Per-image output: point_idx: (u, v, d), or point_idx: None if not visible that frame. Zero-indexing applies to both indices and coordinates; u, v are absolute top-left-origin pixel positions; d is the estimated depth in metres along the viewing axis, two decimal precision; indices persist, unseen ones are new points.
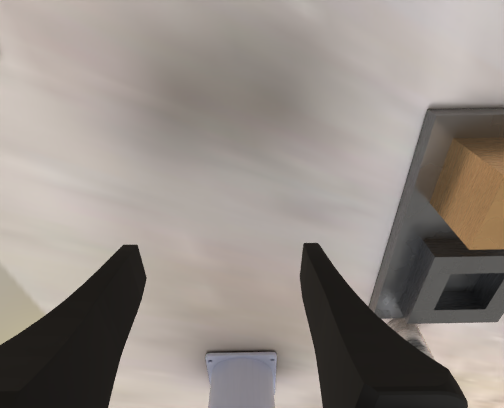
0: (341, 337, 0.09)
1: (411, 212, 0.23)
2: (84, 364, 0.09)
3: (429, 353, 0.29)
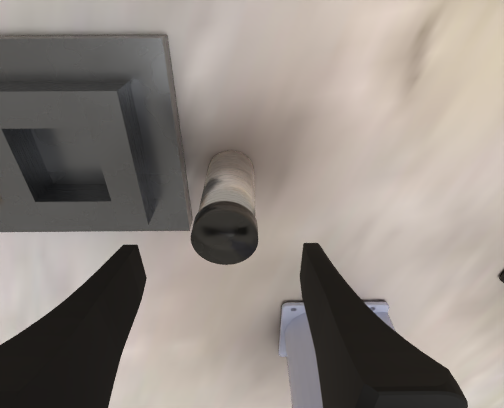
0: (341, 337, 0.09)
1: (5, 227, 0.22)
2: (84, 364, 0.09)
3: (205, 190, 0.17)
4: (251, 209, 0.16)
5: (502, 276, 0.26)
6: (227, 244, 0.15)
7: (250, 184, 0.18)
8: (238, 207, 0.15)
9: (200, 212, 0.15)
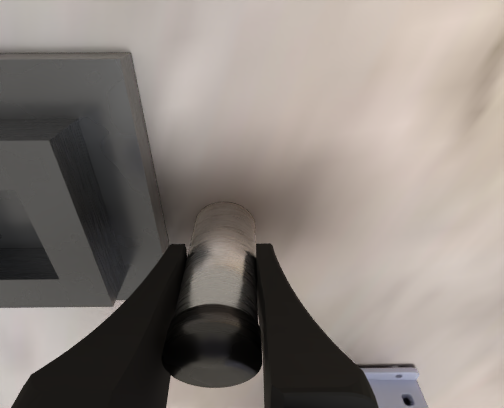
0: (267, 338, 0.09)
1: None
2: (152, 363, 0.09)
3: (186, 270, 0.12)
4: (252, 308, 0.11)
5: None
6: (216, 367, 0.10)
7: (250, 258, 0.13)
8: (232, 315, 0.10)
9: (176, 321, 0.10)
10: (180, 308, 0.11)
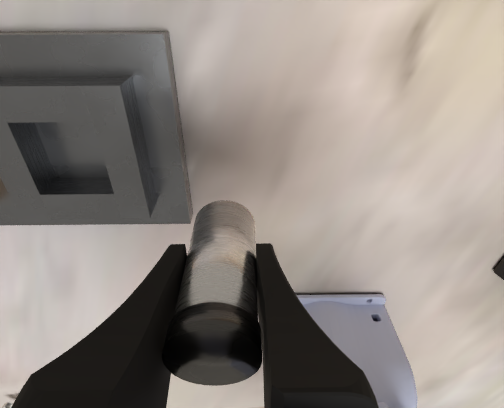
0: (267, 338, 0.09)
1: (9, 220, 0.22)
2: (152, 363, 0.09)
3: (186, 268, 0.12)
4: (252, 306, 0.11)
5: (496, 268, 0.27)
6: (216, 364, 0.10)
7: (250, 256, 0.13)
8: (232, 314, 0.10)
9: (176, 319, 0.10)
10: (180, 306, 0.11)
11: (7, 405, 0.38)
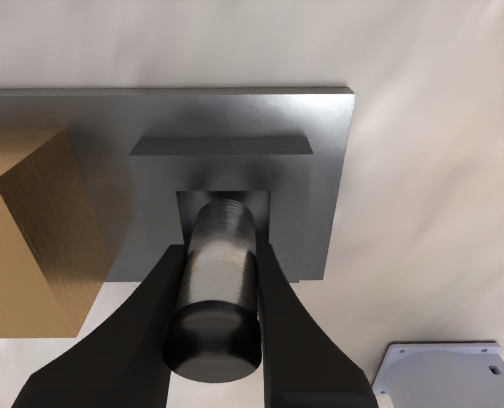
0: (267, 338, 0.09)
1: (129, 277, 0.21)
2: (151, 363, 0.09)
3: (186, 267, 0.12)
4: (251, 304, 0.11)
5: None
6: (216, 362, 0.10)
7: (250, 254, 0.13)
8: (231, 311, 0.10)
9: (175, 317, 0.10)
10: (180, 305, 0.11)
11: None
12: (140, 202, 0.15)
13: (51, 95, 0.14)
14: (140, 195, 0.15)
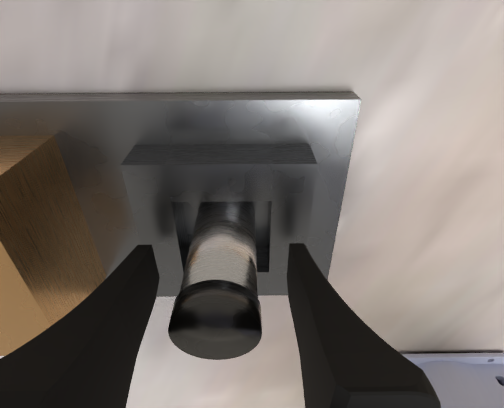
0: (319, 337, 0.09)
1: None
2: (104, 364, 0.09)
3: (190, 252, 0.13)
4: (251, 284, 0.12)
5: None
6: (219, 338, 0.11)
7: (250, 241, 0.14)
8: (233, 289, 0.11)
9: (181, 296, 0.11)
10: (184, 285, 0.11)
11: None
12: (134, 213, 0.14)
13: (39, 101, 0.13)
14: (134, 206, 0.14)
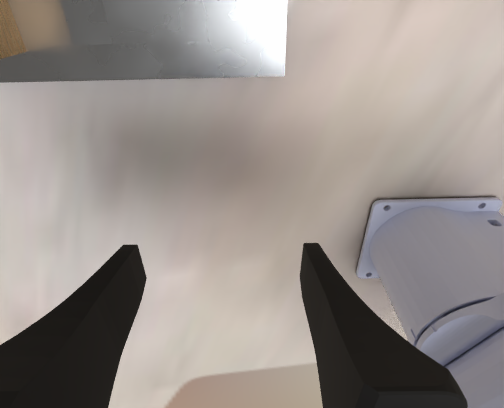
0: (341, 337, 0.09)
1: (50, 73, 0.17)
2: (84, 364, 0.09)
3: None
4: None
5: None
6: None
7: None
8: None
9: None
10: None
11: None
12: None
13: None
14: None
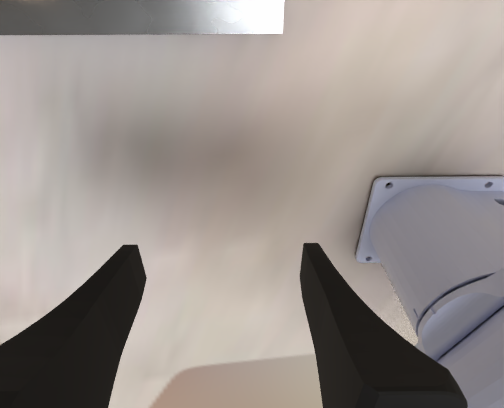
0: (341, 337, 0.09)
1: (31, 25, 0.16)
2: (84, 364, 0.09)
3: None
4: None
5: None
6: None
7: None
8: None
9: None
10: None
11: None
12: None
13: None
14: None
